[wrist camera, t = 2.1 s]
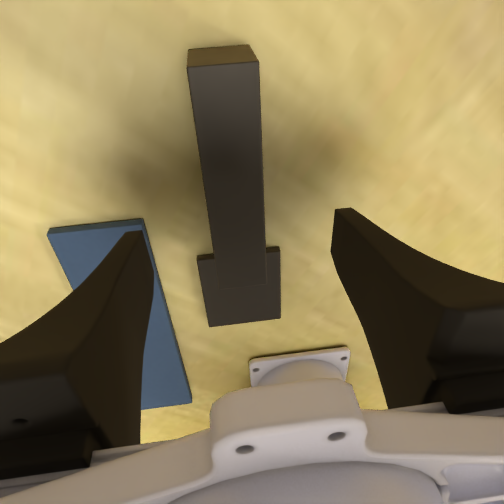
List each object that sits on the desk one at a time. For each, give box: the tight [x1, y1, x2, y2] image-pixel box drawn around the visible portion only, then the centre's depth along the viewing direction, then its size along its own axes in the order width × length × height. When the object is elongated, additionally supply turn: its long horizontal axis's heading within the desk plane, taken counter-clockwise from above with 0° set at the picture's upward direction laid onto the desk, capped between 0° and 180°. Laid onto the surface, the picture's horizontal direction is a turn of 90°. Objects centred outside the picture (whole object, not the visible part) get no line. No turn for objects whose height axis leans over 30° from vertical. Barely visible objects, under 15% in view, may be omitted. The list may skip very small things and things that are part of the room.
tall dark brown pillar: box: [187, 45, 281, 327], centre depth 20 cm, size 17×5×3 cm, turn 3°
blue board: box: [47, 219, 192, 410], centre depth 26 cm, size 18×5×1 cm, turn 3°
